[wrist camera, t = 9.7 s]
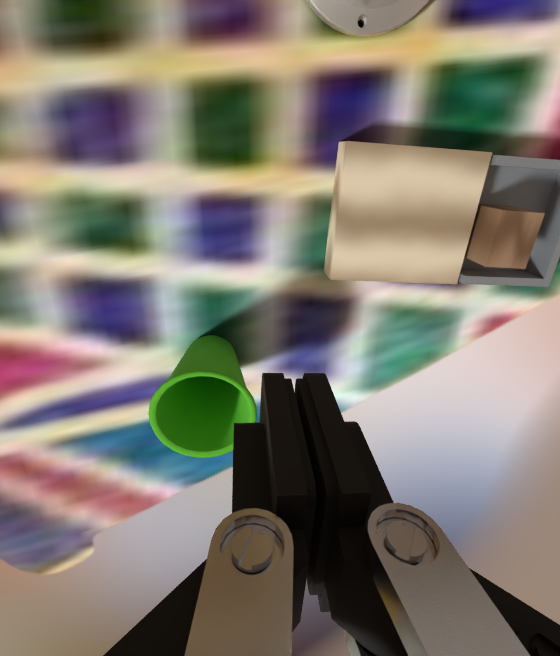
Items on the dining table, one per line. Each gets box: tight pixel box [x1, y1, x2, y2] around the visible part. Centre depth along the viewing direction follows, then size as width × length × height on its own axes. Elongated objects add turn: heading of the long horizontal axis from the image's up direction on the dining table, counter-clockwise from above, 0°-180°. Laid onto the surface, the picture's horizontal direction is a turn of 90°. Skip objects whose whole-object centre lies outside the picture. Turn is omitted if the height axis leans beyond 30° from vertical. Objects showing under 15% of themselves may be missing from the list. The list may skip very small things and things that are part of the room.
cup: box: [149, 335, 257, 458], centre depth 37 cm, size 9×9×11 cm
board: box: [324, 141, 492, 284], centre depth 36 cm, size 12×13×3 cm
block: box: [464, 204, 545, 269], centre depth 36 cm, size 5×5×4 cm
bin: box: [458, 155, 560, 287], centre depth 37 cm, size 12×9×4 cm
